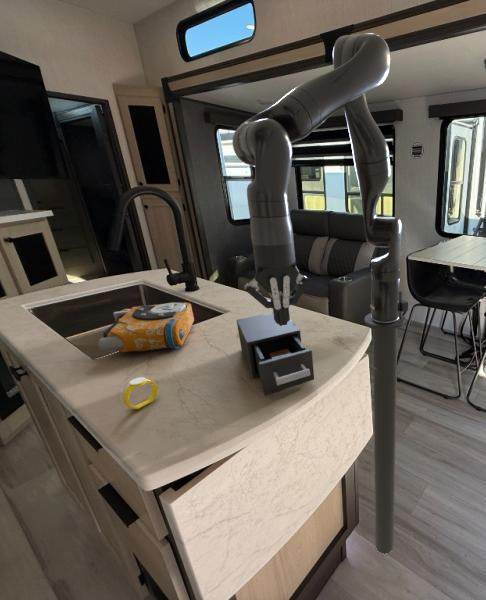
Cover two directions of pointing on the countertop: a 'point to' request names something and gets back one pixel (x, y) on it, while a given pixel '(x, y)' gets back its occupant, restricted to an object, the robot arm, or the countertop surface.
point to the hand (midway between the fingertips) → (282, 323)
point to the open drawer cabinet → (282, 364)
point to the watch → (137, 383)
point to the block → (279, 353)
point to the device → (149, 328)
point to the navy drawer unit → (261, 334)
